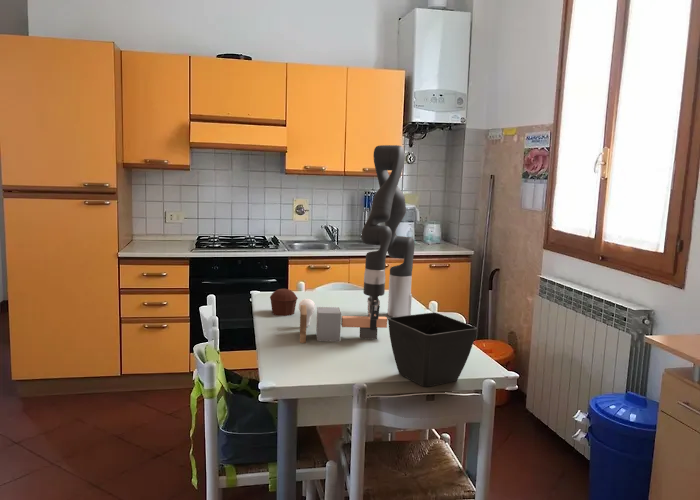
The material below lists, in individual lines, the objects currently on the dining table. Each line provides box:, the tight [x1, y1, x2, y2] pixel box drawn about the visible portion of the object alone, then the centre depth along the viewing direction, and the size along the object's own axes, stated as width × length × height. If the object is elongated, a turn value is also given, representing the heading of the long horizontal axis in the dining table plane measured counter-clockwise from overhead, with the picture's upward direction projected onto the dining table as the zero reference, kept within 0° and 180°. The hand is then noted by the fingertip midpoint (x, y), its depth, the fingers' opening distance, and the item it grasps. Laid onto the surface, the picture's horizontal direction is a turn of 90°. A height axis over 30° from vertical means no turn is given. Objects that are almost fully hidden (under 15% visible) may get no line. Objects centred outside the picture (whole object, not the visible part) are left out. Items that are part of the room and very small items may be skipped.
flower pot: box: [387, 312, 478, 388], centre depth 173 cm, size 19×19×17 cm
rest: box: [359, 327, 378, 340], centre depth 212 cm, size 6×3×4 cm, turn 95°
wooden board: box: [299, 305, 307, 344], centre depth 209 cm, size 2×14×10 cm, turn 6°
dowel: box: [341, 315, 388, 329], centre depth 211 cm, size 16×3×3 cm, turn 96°
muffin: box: [269, 288, 298, 317], centre depth 242 cm, size 12×11×10 cm
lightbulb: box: [298, 298, 316, 328], centre depth 222 cm, size 6×6×11 cm
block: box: [315, 306, 342, 342], centre depth 210 cm, size 8×9×10 cm
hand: (372, 328), depth 211 cm, fingers closed on dowel, 3 cm apart
